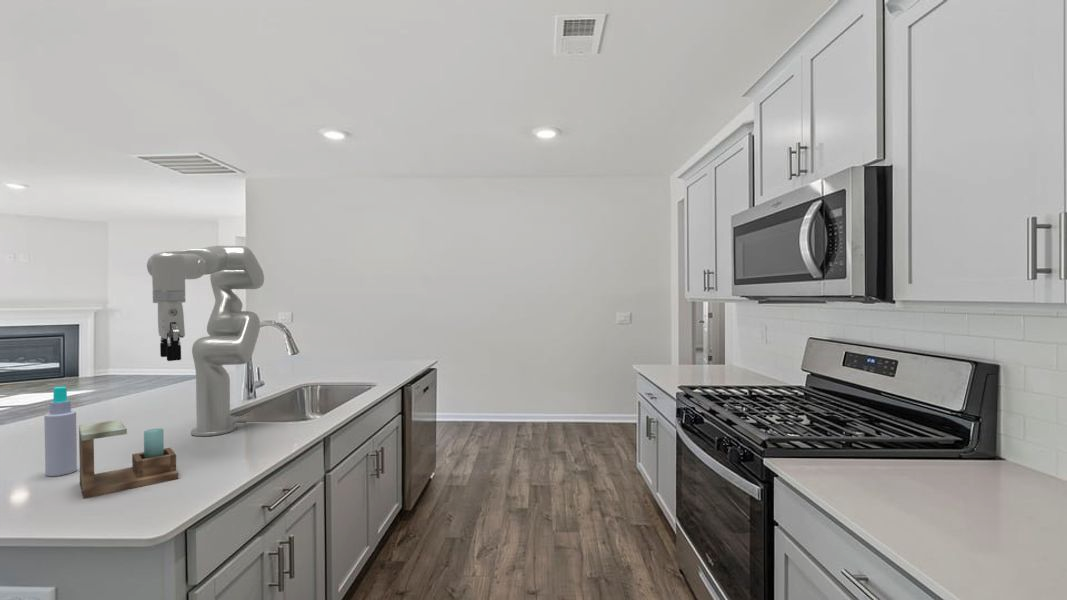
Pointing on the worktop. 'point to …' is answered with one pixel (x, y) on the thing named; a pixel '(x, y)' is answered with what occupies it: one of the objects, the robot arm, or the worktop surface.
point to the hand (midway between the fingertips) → (170, 358)
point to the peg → (153, 443)
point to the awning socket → (119, 479)
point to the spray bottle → (60, 436)
